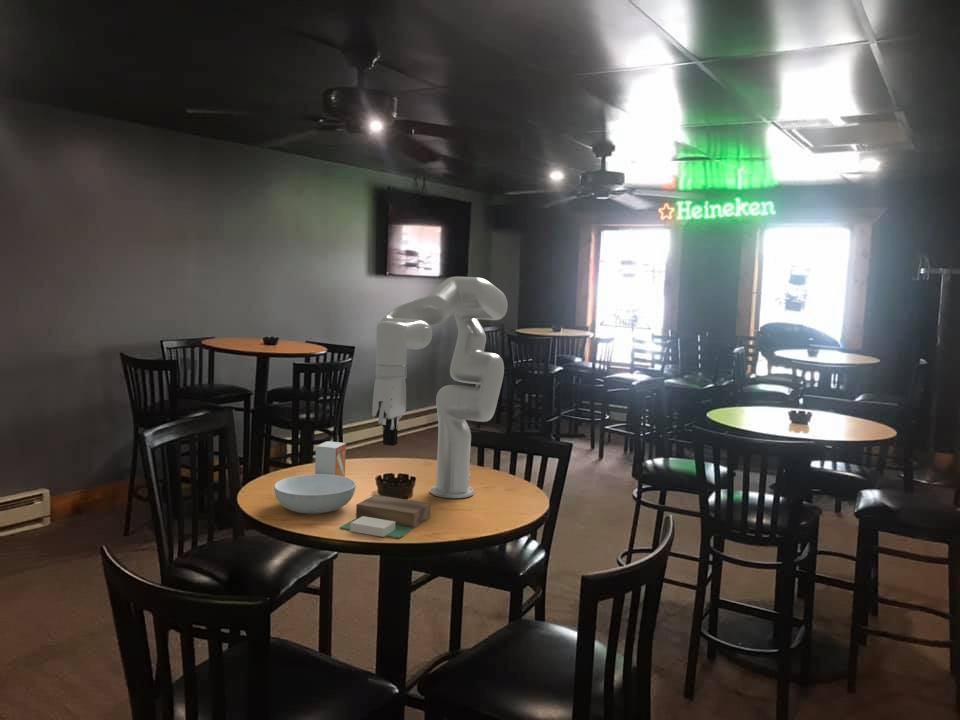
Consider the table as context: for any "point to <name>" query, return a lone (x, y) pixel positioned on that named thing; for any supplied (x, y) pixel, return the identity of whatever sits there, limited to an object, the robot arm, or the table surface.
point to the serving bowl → (314, 493)
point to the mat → (396, 533)
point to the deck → (394, 510)
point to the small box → (330, 458)
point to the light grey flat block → (372, 526)
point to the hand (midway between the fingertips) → (390, 444)
